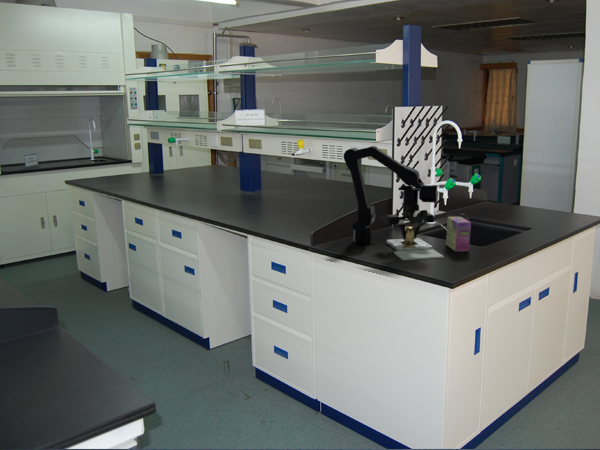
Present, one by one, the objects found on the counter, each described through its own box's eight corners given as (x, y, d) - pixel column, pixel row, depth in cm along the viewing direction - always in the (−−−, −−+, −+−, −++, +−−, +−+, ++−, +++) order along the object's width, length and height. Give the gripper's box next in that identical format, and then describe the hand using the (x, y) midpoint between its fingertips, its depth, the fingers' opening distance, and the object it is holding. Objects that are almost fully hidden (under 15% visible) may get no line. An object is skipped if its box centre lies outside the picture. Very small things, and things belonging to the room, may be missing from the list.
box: (469, 251, 202) (471, 221, 200) (455, 252, 202) (456, 222, 199) (459, 244, 213) (461, 216, 210) (445, 245, 212) (447, 216, 209)
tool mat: (402, 260, 192) (402, 258, 192) (393, 252, 202) (393, 251, 202) (443, 257, 195) (443, 256, 194) (432, 250, 204) (432, 249, 204)
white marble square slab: (398, 252, 203) (398, 248, 202) (386, 243, 216) (386, 239, 216) (432, 250, 205) (432, 246, 204) (418, 241, 218) (418, 237, 218)
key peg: (405, 248, 208) (406, 228, 206) (402, 245, 212) (403, 226, 210) (415, 247, 209) (416, 228, 207) (411, 245, 213) (412, 226, 211)
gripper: (394, 206, 197) (393, 245, 200) (441, 204, 200) (439, 243, 203) (385, 201, 208) (384, 238, 211) (429, 199, 211) (428, 236, 214)
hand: (409, 239), depth 210 cm, fingers closed on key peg, 4 cm apart
